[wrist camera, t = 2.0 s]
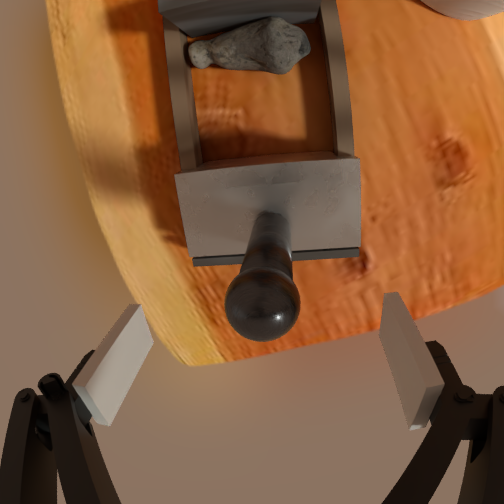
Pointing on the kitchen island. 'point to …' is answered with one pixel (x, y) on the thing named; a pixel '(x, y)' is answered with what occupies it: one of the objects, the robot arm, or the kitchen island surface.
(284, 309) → the ram
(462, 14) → the vase
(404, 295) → the kitchen island surface
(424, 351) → the robot arm
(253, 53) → the stone
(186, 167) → the grey rectangular frame
